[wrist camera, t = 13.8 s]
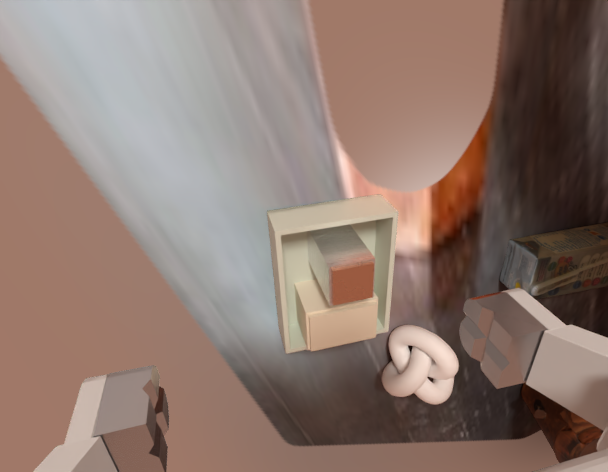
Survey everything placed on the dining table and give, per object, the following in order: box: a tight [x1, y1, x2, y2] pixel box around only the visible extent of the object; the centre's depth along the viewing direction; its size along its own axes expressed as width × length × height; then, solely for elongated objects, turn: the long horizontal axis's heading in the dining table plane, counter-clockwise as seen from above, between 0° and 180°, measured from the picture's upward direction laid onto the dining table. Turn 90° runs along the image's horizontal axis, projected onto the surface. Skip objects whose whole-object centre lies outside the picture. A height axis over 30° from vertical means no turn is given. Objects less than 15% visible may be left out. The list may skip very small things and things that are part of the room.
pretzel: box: [382, 325, 459, 405], centre depth 59 cm, size 11×12×9 cm
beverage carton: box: [500, 223, 608, 300], centre depth 59 cm, size 8×19×7 cm, turn 92°
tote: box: [267, 194, 398, 354], centre depth 50 cm, size 14×18×5 cm
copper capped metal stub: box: [307, 224, 375, 306], centre depth 46 cm, size 5×5×9 cm
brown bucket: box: [521, 382, 604, 463], centre depth 71 cm, size 18×20×18 cm
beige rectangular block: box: [294, 279, 378, 352], centre depth 51 cm, size 9×6×7 cm, turn 93°
